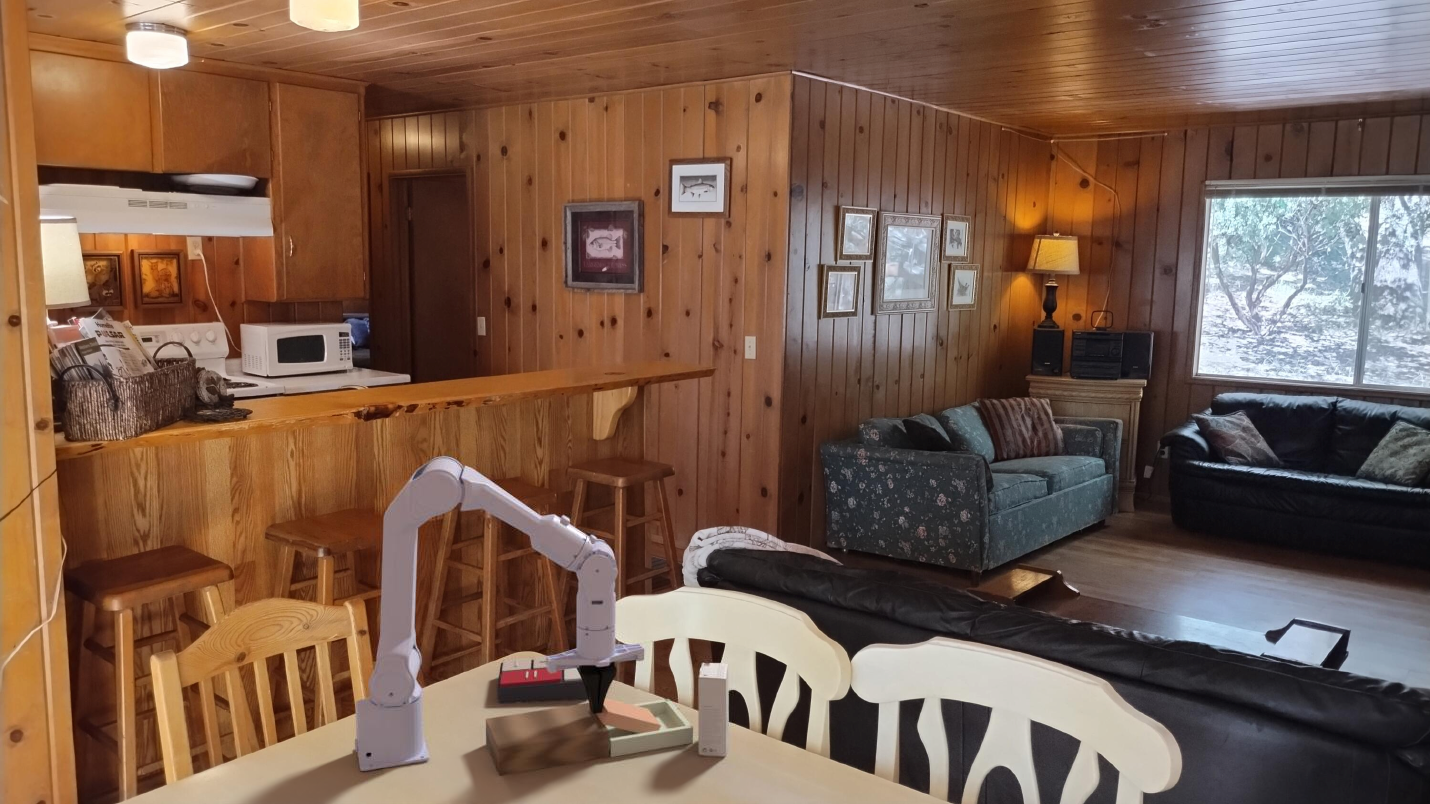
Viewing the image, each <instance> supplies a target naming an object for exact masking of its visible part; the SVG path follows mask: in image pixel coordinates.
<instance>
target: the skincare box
mask: <svg viewBox="0 0 1430 804" xmlns="http://www.w3.org/2000/svg"><path fill="white" fill-rule="evenodd" d="M697 679H698V680H697V681H698V682H697V683H698V684H697V686H698V688H697V689H698V692H697V693H698V694H697V695H698V699H697V700H698V703H697V705H698V709H697V710H698V711H697V712H698V754H699V755H700V756H704V757H705V756H706V757H726V756H727V754H728V749H729V745H730V744H729V743H730V742H729V740H730V737H729V735H730V730H729V729H730V728H729V725H730V724H729V723H730V721H729V718H730V717H729V716H730V715H729V713H730V712H729V710H730V709H729V707H730V706H729V704H730V703H729V699H730V697H729V694H730V693H729V691H730V690H729V664H728V663H723V662H721V663H719V662H702V663H701V666H700V669H699V674H698V678H697Z"/></svg>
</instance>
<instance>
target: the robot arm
mask: <svg viewBox="0 0 1430 804" xmlns="http://www.w3.org/2000/svg"><path fill="white" fill-rule="evenodd" d="M459 503H461V505H460V506H461V507H460V509H459V510H460V512H466V511H474V510H475V511H476V510H484V511H485V512H487V513H489V514H491V515H492V516H495V517H496V518H498V519H499V520H501V521H503V522H505V523H506V524H508V525H510V526H512V527H513V528H515V529H518V530H519V531H521V532H522V533H524V534H525V535H528V536H529V540H530V545H531V548H532V549H533V550H536V551H537V552H538V553H540V554H542V555H543V556H545V557H547V558H548V559H549V560H551V561H552V562H554V563H555V564H558V566H561V567H562V568H563V569H565V570H567V571H570V572H574V573H575V574H576V578H577V580H578V591H577V593H576V648H574V649H571V650H567V651H564V652H560V653H557V654H552V655H547V657H546V658H547V670H548V672H549V673H556V672H557V671H558V670H565V669H572V668H577V670H578V672H579V674H580V676H581V679H582V681H583V684H584V686H585V689H586V692H587V696H588V700H587V701H588V703H589V706H590V710H591V711H592V713H593V714H597V713H602V709H603V704H604V701H605V698H607V694H608V691H609V689H610V688H611V685H612V683H613V681H614V680H615V677H616V676H617V672H618V668H617V667H616V665H615V664H616V663H621V662H628V661H635V660H636V661H637V662H641V661H645V647H644V646H643V645H642V644H641V643H633V644H616V611H617V610H616V608H617V607H616V604H617V603H616V602H617V601H616V599H617V595H616V592H615V590H616V589H615V588H616V579H617V578H618V574H619V569H618V566H617V561H616V558H615V554H614V551H613V549H612V548H611V547H610V546H609V544H608V543H607V542H606V541H605V540H604V539H600V538H597V536H595V535H594V534H590V535H587V534H586V533H585V532H583V531H581V530H579V529H578V528H576V526H573V525H572V524H571V519H570V518H569V517H568V516H566V515H564V514H563V515H561V517H560V516H558V515H556V514H553V513H552V514H547V515H540V514H539V513H537V512H536V510H535V511H534V510H533V509H531V508H530V507H528V505H526V504H525V503H523V502H522V501H521V500H519V499H518V498H516V497H514V496H513V495H512V494H510V493H508V492H507V491H506V490H505V489H503V488H501V487H500V486H499V485H497V484H496V483H495V482H493V481H492V480H490V479H489V478H487V477H486V476H484V475H483V474H482V473H480V472H479V471H477V470H476V469H474V468H473V467H470V466H467V465H464V466H463V465H462V463H460V462H459V461H458V460H457V459H455V458H454V457H450V456H447V455H446V456H445V455H444V456H443V455H442V456H438V457H434V458H433V459H431V460H428V462H426V463H424V464H423V465H422V466H420V467H419V468H417V469H416V470H415V471H414V473H413V474H412V476H411V477H410V478H409V480H407V482H406V483H405V485H404V486H403V487H402V489H400V490H399V492H398V494H397V495H396V496H395V498H394V499H393V500H392V502H390V504H389V506H388V507H387V509H386V510H385V512H384V515H383V521H382V522H383V523H382V524H383V528H382V529H383V531H382V532H383V533H382V556H381V557H382V561H381V562H382V563H381V592H380V595H381V596H380V625H379V626H380V627H379V628H380V629H379V632H380V633H379V641H378V645H377V652H376V663H375V666H374V669H373V671H372V673H371V674H370V676H369V679H368V680H369V681H368V691H369V694H370V695H369V696H367V697H364V698H362V699H359V700H356V701H355V731H356V735H355V736H356V738H355V739H354V748H355V752H356V753H357V757H358V764H359V770H360V772H361V771H362V772H365V771H366V772H367V771H372V770H377V769H383V768H390V767H396V766H402V765H403V766H404V765H408V764H414V763H419V762H427V761H429V760H430V754H429V750H428V748H427V744H426V740H425V737H424V722H423V721H424V717H423V716H424V715H423V712H424V711H423V706H424V705H423V688H422V686H421V685H420V684H419V682H418V681H417V677H418V673H419V672H420V669H421V666H422V662H423V661H422V659H423V658H422V654H421V652H420V650H419V648H418V646H417V641H416V639H417V637H416V636H417V633H416V629H415V619H416V618H415V617H416V614H415V613H416V598H417V597H416V593H417V591H416V590H417V566H418V565H417V563H418V534H419V533H418V532H419V531H418V530H419V528H420V527H421V526H422V525H424V524H426V522H428V521H429V520H430V519H431V518H433V517H437V516H440V515H443V514H446V513H448V512H450V511H452V510H453V509H455V508H456V507H457V505H458V504H459Z"/></svg>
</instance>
